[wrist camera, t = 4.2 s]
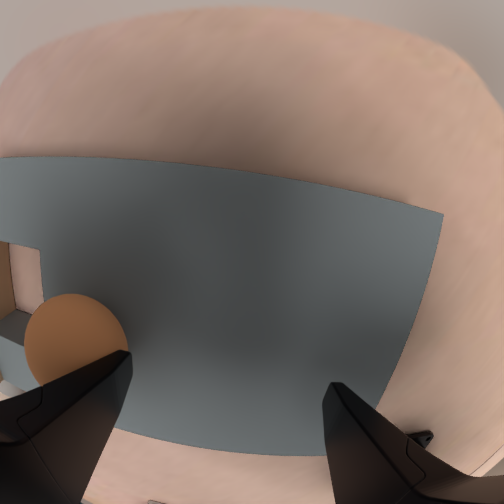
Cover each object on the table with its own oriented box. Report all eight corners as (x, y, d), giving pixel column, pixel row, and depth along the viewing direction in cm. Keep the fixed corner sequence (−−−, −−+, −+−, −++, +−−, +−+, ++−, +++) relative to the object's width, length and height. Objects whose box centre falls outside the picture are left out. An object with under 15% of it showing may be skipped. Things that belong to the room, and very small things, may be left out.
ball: (150, 298, 9) (61, 347, 6) (151, 387, 10) (88, 445, 7) (75, 269, 10) (-4, 296, 7) (83, 350, 11) (20, 388, 8)
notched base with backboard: (407, 205, 12) (495, 229, 6) (338, 418, 15) (361, 495, 10) (0, 158, 11) (-77, 164, 6) (17, 352, 15) (-31, 398, 9)
